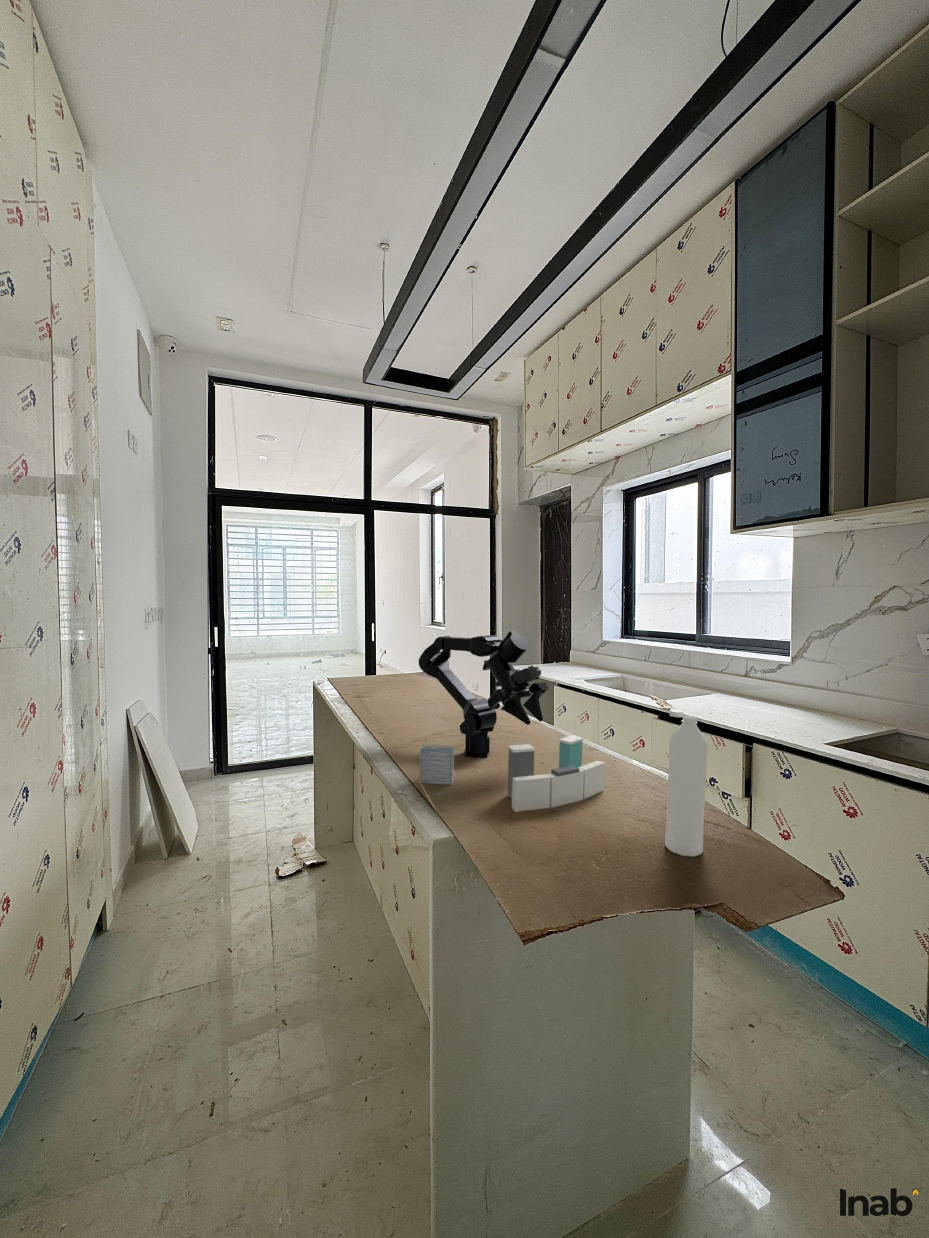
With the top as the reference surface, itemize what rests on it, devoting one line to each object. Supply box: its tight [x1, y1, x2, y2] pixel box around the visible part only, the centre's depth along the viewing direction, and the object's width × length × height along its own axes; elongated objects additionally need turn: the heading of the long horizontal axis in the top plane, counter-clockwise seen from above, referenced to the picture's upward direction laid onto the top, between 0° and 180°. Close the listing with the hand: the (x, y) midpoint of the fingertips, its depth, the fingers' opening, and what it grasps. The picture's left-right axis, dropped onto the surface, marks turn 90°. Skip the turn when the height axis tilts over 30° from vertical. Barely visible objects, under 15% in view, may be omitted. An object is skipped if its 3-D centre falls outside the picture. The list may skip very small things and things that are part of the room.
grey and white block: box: [507, 743, 536, 801], centre depth 119 cm, size 3×5×12 cm, turn 107°
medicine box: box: [419, 744, 455, 786], centre depth 128 cm, size 8×4×9 cm, turn 84°
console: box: [511, 760, 606, 813], centre depth 118 cm, size 26×4×8 cm, turn 120°
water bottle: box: [664, 708, 708, 858], centre depth 98 cm, size 9×6×25 cm
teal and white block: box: [558, 734, 584, 768], centre depth 126 cm, size 3×5×12 cm, turn 132°
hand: (535, 722), depth 134 cm, fingers open, 5 cm apart
